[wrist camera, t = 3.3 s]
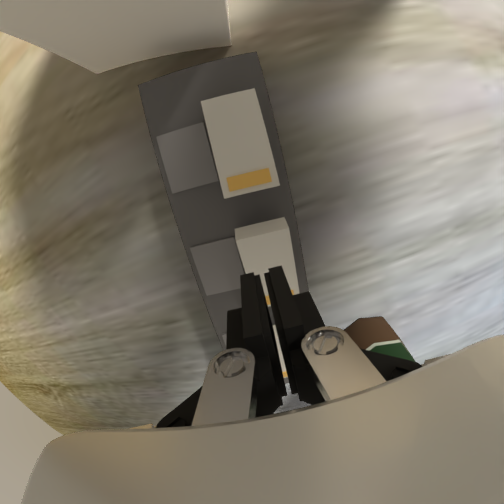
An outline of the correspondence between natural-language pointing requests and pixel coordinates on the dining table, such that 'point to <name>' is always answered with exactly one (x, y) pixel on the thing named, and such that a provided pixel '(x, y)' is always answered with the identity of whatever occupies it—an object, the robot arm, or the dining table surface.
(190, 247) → the power strip
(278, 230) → the rocker mid
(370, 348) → the beer bottle
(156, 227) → the dining table surface
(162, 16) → the milk
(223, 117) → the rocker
